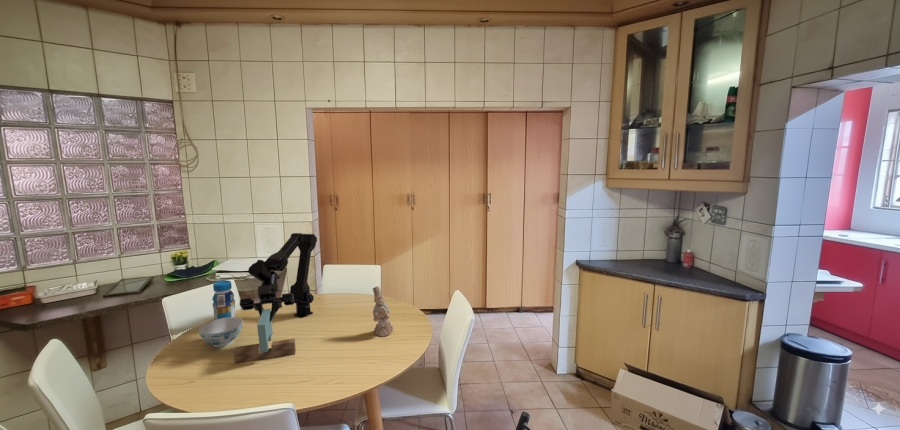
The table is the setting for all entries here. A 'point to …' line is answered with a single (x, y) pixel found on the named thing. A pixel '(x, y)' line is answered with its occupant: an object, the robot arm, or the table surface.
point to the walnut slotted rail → (254, 354)
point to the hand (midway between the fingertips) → (266, 322)
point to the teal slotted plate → (264, 330)
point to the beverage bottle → (223, 300)
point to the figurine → (381, 314)
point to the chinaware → (221, 331)
